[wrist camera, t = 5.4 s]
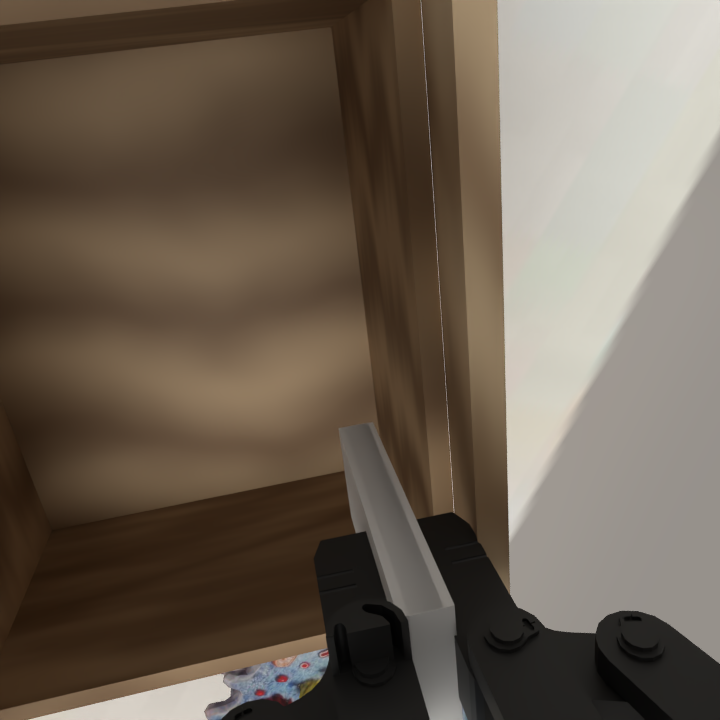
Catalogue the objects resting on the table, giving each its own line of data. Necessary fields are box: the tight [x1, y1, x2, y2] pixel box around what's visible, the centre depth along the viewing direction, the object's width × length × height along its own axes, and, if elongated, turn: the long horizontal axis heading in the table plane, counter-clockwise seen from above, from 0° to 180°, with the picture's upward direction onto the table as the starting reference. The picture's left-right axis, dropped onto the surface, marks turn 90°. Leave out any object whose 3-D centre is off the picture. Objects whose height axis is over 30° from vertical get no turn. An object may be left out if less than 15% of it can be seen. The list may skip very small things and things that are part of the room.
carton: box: [0, 0, 454, 720], centre depth 26 cm, size 24×20×12 cm
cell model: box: [204, 648, 467, 720], centre depth 37 cm, size 13×11×20 cm
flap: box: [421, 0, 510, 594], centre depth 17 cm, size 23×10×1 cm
